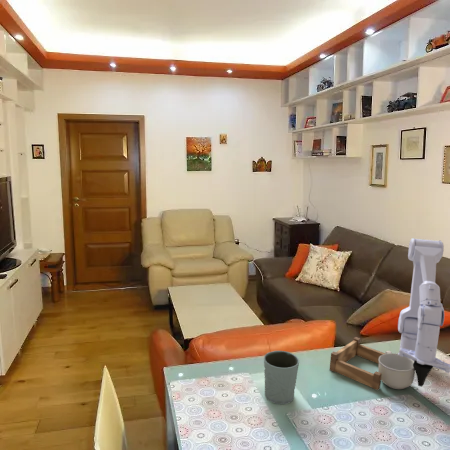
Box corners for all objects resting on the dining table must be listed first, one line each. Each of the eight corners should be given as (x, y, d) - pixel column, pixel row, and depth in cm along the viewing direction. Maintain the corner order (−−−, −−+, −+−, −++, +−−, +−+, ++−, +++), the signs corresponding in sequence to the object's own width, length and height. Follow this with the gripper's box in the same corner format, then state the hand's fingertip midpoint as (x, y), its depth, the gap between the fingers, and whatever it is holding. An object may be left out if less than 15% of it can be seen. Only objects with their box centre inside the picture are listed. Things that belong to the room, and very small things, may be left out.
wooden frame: (354, 352, 155) (355, 336, 154) (399, 369, 145) (401, 353, 143) (329, 369, 143) (331, 353, 141) (377, 390, 132) (379, 372, 131)
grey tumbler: (298, 390, 130) (301, 354, 127) (292, 409, 120) (295, 370, 118) (266, 383, 133) (268, 347, 131) (257, 401, 124) (260, 363, 121)
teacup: (416, 396, 129) (419, 371, 128) (378, 390, 132) (381, 366, 130) (406, 372, 143) (409, 350, 141) (372, 368, 145) (375, 346, 143)
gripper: (397, 339, 131) (392, 380, 133) (448, 356, 121) (442, 400, 124) (405, 332, 136) (400, 372, 138) (455, 348, 126) (449, 390, 129)
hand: (420, 384), depth 131 cm, fingers closed
